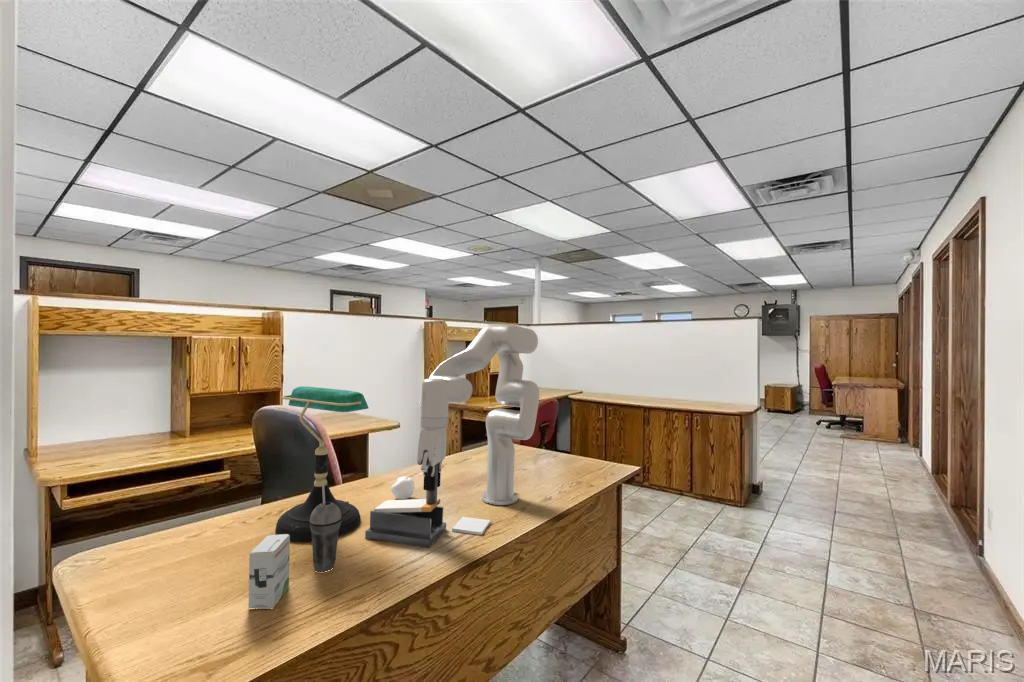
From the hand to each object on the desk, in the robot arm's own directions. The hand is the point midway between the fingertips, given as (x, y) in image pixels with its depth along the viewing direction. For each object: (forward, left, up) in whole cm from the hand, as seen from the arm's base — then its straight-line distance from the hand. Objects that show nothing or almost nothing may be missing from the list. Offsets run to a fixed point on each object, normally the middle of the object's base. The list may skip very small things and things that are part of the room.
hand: (431, 487), depth 125 cm
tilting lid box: (0, -7, -14) cm, 16 cm away
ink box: (+37, -20, -14) cm, 44 cm away
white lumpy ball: (-25, -21, -14) cm, 36 cm away
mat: (-10, +9, -14) cm, 19 cm away
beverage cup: (+23, -17, -14) cm, 32 cm away
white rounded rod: (0, 0, -4) cm, 4 cm away
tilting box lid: (0, -7, -6) cm, 9 cm away
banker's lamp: (+2, -34, -14) cm, 37 cm away
